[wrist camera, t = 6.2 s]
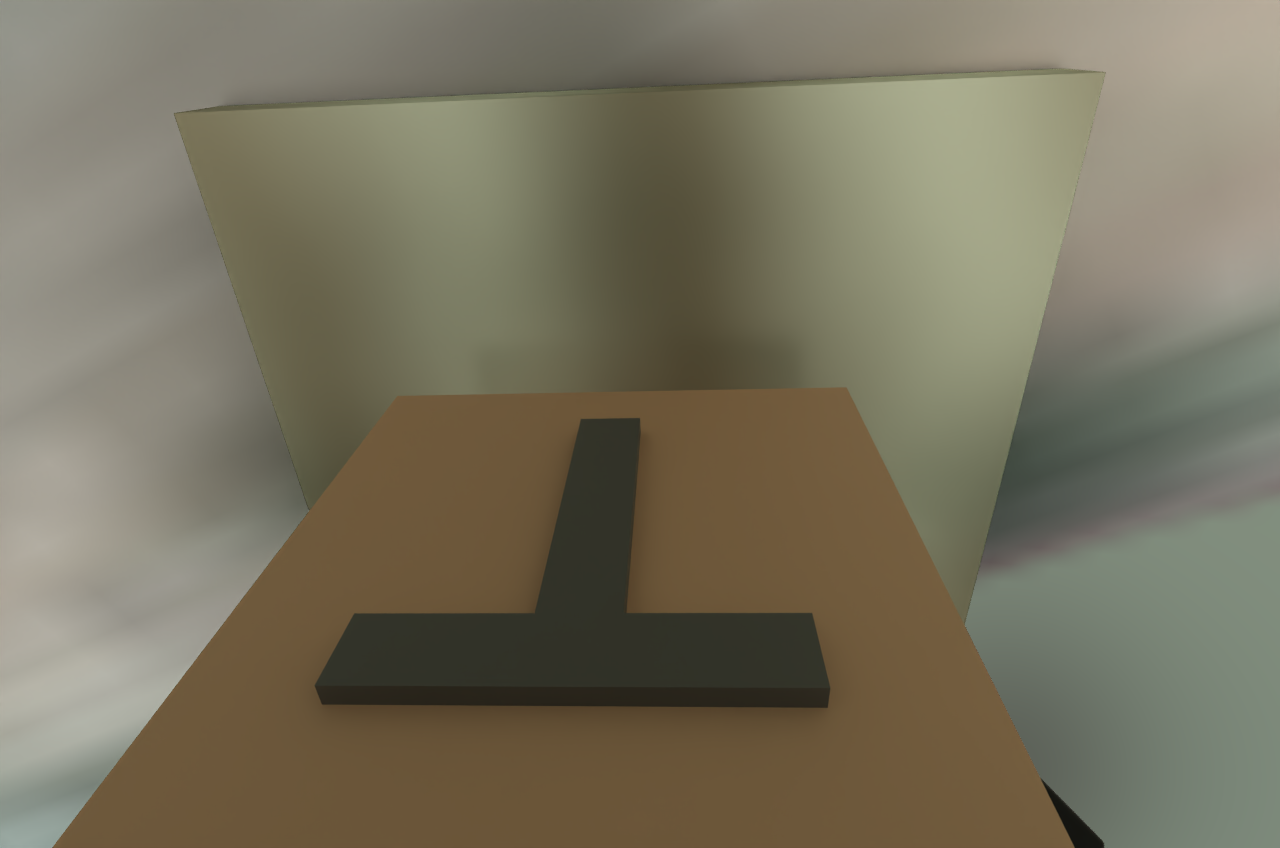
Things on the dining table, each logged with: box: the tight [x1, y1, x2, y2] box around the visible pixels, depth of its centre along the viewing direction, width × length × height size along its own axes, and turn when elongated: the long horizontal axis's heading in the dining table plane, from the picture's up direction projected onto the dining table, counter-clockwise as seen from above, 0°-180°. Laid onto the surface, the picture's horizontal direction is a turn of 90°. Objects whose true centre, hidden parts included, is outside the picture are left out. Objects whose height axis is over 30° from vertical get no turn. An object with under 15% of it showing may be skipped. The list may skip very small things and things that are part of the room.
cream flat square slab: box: [174, 69, 1106, 625], centre depth 13 cm, size 13×13×1 cm
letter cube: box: [52, 387, 1075, 848], centre depth 8 cm, size 6×6×6 cm
